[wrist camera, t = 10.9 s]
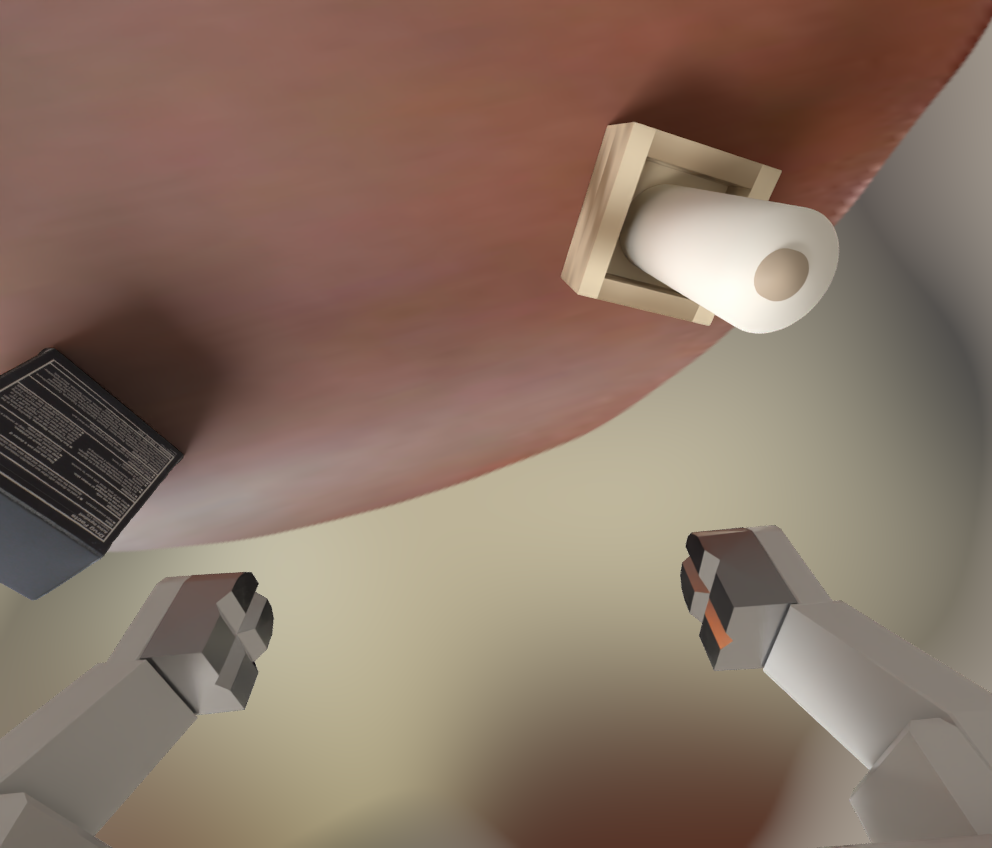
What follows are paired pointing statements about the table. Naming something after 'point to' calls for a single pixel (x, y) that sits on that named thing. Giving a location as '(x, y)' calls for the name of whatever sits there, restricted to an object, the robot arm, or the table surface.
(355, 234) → the table surface
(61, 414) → the small box
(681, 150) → the open wooden box
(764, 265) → the paper roll
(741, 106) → the table surface
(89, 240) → the table surface
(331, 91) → the table surface
